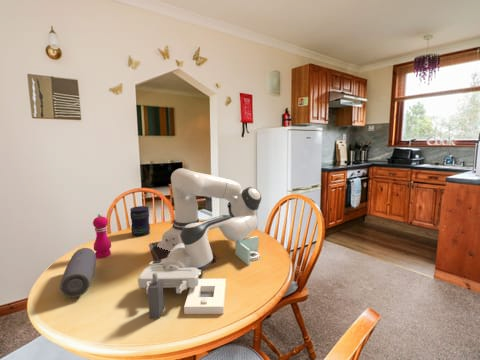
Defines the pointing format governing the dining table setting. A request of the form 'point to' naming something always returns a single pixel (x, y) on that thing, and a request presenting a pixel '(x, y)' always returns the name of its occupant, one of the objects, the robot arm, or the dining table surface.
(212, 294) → the socket plate
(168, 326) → the dining table surface
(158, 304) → the grey bottle
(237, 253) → the right angle wall
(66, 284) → the bluetooth speaker
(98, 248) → the pepper mill
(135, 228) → the storage jar
